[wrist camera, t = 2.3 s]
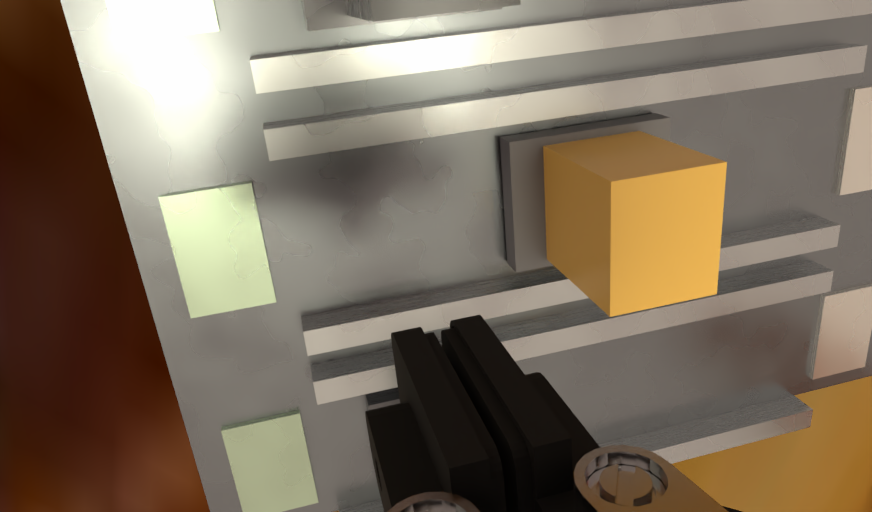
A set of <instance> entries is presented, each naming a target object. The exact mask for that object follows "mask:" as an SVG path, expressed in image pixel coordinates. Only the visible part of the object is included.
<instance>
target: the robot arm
mask: <svg viewBox="0 0 872 512" xmlns="http://www.w3.org/2000/svg"><path fill="white" fill-rule="evenodd" d="M391 342H392V349H393V357H394V364H395V371H396V378H397V385H398V392H399V399H400V403H399V404H394V405H390V406H386V407H381V408H377V409H372V410H368V411H365V416H366V423H367V429H368V435H369V441H370V447H371V453H372V459H373V464H374V469H375V474H376V479H377V484H378V488H379V493H380V497H381V501H382V505H383V509H384V512H742V511H738V510H735V509H731V508H727V507H724V506H721V505H720V504H719V503H717V502H716V501H715V500H714V499H713V498H711V497H710V496H709V495H708V494H707V493H705V492H704V491H703V490H702V489H701V488H699V487H698V486H697V485H696V484H695V483H693V482H692V481H691V480H690V479H689V478H687V477H686V476H685V475H684V474H682V473H681V472H680V471H679V470H678V469H676V468H675V467H674V466H673V465H672V464H670V463H669V462H668V461H667V460H665V459H664V458H662V457H660V456H659V455H657V454H656V453H654V452H651V451H648V450H646V449H643V448H640V447H634V446H628V445H610V446H605V447H601V448H600V446H599V445H598V444H597V443H596V441H595V440H594V439H593V437H592V436H591V435H590V434H589V432H588V431H587V430H586V429H585V427H584V426H583V425H582V423H581V422H580V421H579V420H578V418H577V417H576V416H575V415H574V413H573V412H572V411H571V410H570V408H569V407H568V406H567V404H566V403H565V402H564V401H563V399H562V398H561V397H560V396H559V394H558V393H557V392H556V391H555V389H554V388H553V387H552V385H551V384H550V383H549V382H548V380H547V379H546V378H545V377H544V376H543V375H542V374H541V373H539V372H535V373H531V374H526V375H525V374H524V373H523V371H522V370H521V369H520V367H519V366H518V365H517V363H516V362H515V361H514V359H513V358H512V357H511V355H510V354H509V352H508V351H507V350H506V348H505V347H504V346H503V344H502V343H501V342H500V340H499V339H498V338H497V336H496V335H495V334H494V332H493V331H492V329H491V328H490V327H489V325H488V324H487V323H486V321H485V320H484V319H483V317H482V316H481V315H475V316H470V317H465V318H461V319H456V320H451V322H450V329H445V330H442V331H441V342H442V346H441V344H440V343H439V341H438V339H437V337H436V335H435V334H434V332H431V333H426V334H424V332H423V330H422V328H421V327H417V328H412V329H407V330H402V331H398V332H393V333H391Z"/></svg>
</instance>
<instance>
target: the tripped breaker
mask: <svg viewBox="0 0 872 512" xmlns="http://www.w3.org/2000/svg"><path fill="white" fill-rule="evenodd" d="M670 121H671V117H667V116H664V115H661V114H657V113H653V114H647V115H640V116H634V117H627V118H620V119H614V120H607V121H601V122H594V123H588V124H581V125H575V126H568V127H561V128H555V129H548V130H542V131H535V132H529V133H522V134H516V135H509V136H503V137H500V148H501V166H502V183H503V200H504V217H505V235H506V252H507V264H508V265H509V266H510V267H511V268H512V269H513V270H514V271H515V272H516V273H518V272H523V271H528V270H533V269H538V268H544V267H549V266H555V267H556V268H557V269H558V270H559V271H560V272H561V273H562V274H563V275H565V276H566V277H567V278H568V279H569V280H570V281H571V282H572V283H573V284H574V285H576V286H577V287H578V288H579V289H580V290H581V291H582V292H583V293H584V294H585V295H586V296H588V297H589V298H590V299H591V300H592V301H593V302H594V303H595V304H596V305H597V306H598V307H600V308H601V309H602V310H603V311H604V312H605V313H606V314H607V315H608V316H609V317H612V316H617V315H622V314H626V313H631V312H636V311H641V310H645V309H650V308H655V307H659V306H664V305H669V304H673V303H678V302H683V301H687V300H692V299H697V298H701V297H706V296H711V295H715V294H717V286H718V273H719V260H720V247H721V234H722V221H723V208H724V195H725V182H726V169H727V162H726V161H723V160H720V159H717V158H715V157H712V156H709V155H706V154H703V153H701V152H698V151H695V150H692V149H689V148H686V147H684V146H681V145H678V144H675V143H672V142H670Z"/></svg>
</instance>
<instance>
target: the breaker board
mask: <svg viewBox="0 0 872 512" xmlns="http://www.w3.org/2000/svg"><path fill="white" fill-rule="evenodd" d="M61 4H62V7H63V11H64V14H65V17H66V21H67V24H68V28H69V31H70V35H71V38H72V41H73V45H74V48H75V52H76V55H77V58H78V62H79V65H80V69H81V72H82V75H83V79H84V82H85V86H86V89H87V93H88V96H89V99H90V103H91V106H92V110H93V113H94V116H95V120H96V123H97V127H98V130H99V133H100V137H101V140H102V144H103V147H104V151H105V154H106V157H107V161H108V164H109V168H110V171H111V174H112V178H113V181H114V185H115V188H116V191H117V195H118V198H119V202H120V205H121V209H122V212H123V215H124V219H125V222H126V226H127V229H128V232H129V236H130V239H131V243H132V246H133V249H134V253H135V256H136V260H137V263H138V267H139V270H140V273H141V277H142V280H143V284H144V287H145V290H146V294H147V297H148V301H149V304H150V307H151V311H152V314H153V318H154V321H155V325H156V328H157V331H158V335H159V338H160V342H161V345H162V348H163V352H164V355H165V359H166V362H167V365H168V369H169V372H170V376H171V379H172V383H173V386H174V389H175V393H176V396H177V400H178V403H179V406H180V410H181V413H182V417H183V420H184V423H185V427H186V430H187V434H188V437H189V441H190V444H191V447H192V451H193V454H194V458H195V461H196V464H197V468H198V471H199V475H200V478H201V481H202V485H203V488H204V492H205V495H206V499H207V502H208V505H209V509H210V512H333V511H337V510H339V512H384V509H383V505H382V501H381V497H380V493H379V488H378V484H377V479H376V474H375V469H374V464H373V459H372V453H371V447H370V441H369V435H368V429H367V423H366V416H365V411H368V410H372V409H377V408H381V407H386V406H390V405H394V404H399V403H400V399H399V392H398V385H397V378H396V371H395V364H394V357H393V349H392V342H391V333H393V332H398V331H402V330H407V329H412V328H417V327H421V328H422V330H423V332H424V334H426V333H431V332H434V334H435V335H436V337H437V339H438V341H439V343H440V344H441V346H442V342H441V331H442V330H445V329H450V322H451V320H456V319H461V318H465V317H470V316H475V315H481V316H482V317H483V319H484V320H485V321H486V323H487V324H488V325H489V327H490V328H491V329H492V331H493V332H494V334H495V335H496V336H497V338H498V339H499V340H500V342H501V343H502V344H503V346H504V347H505V348H506V350H507V351H508V352H509V354H510V355H511V357H512V358H513V359H514V361H515V362H516V363H517V365H518V366H519V367H520V369H521V370H522V371H523V373H524V374H525V375H526V374H531V373H535V372H539V373H541V374H542V375H543V376H544V377H545V378H546V379H547V380H548V382H549V383H550V384H551V385H552V387H553V388H554V389H555V391H556V392H557V393H558V394H559V396H560V397H561V398H562V399H563V401H564V402H565V403H566V404H567V406H568V407H569V408H570V410H571V411H572V412H573V413H574V415H575V416H576V417H577V418H578V420H579V421H580V422H581V423H582V425H583V426H584V427H585V429H586V430H587V431H588V432H589V434H590V435H591V436H592V437H593V439H594V440H595V441H596V443H597V444H598V445H599V446H600V448H601V447H605V446H610V445H628V446H634V447H640V448H643V449H646V450H648V451H651V452H654V453H656V454H657V455H659V456H660V457H662V458H664V459H665V460H667V461H668V462H669V463H670V464H672V463H675V462H679V461H683V460H687V459H691V458H694V457H698V456H702V455H706V454H710V453H713V452H717V451H721V450H725V449H728V448H732V447H736V446H740V445H744V444H747V443H751V442H755V441H759V440H763V439H766V438H770V437H774V436H778V435H781V434H785V433H789V432H793V431H797V430H800V429H804V428H808V427H810V425H811V418H812V411H813V409H811V408H810V407H809V406H807V405H806V404H805V403H803V402H802V401H801V400H799V399H798V398H796V397H795V396H794V395H797V394H801V393H805V392H809V391H813V390H817V389H821V388H825V387H829V386H832V385H836V384H840V383H844V382H848V381H852V380H856V379H860V378H864V377H868V376H872V0H61ZM653 113H657V114H661V115H664V116H667V117H671V121H670V142H672V143H675V144H678V145H681V146H684V147H686V148H689V149H692V150H695V151H698V152H701V153H703V154H706V155H709V156H712V157H715V158H717V159H720V160H723V161H726V162H727V169H726V182H725V195H724V208H723V221H722V234H721V247H720V260H719V273H718V286H717V294H715V295H711V296H706V297H701V298H697V299H692V300H687V301H683V302H678V303H673V304H669V305H664V306H659V307H655V308H650V309H645V310H641V311H636V312H631V313H626V314H622V315H617V316H612V317H609V316H608V315H607V314H606V313H605V312H604V311H603V310H602V309H601V308H600V307H598V306H597V305H596V304H595V303H594V302H593V301H592V300H591V299H590V298H589V297H588V296H586V295H585V294H584V293H583V292H582V291H581V290H580V289H579V288H578V287H577V286H576V285H574V284H573V283H572V282H571V281H570V280H569V279H568V278H567V277H566V276H565V275H563V274H562V273H561V272H560V271H559V270H558V269H557V268H556V267H555V266H549V267H544V268H538V269H533V270H528V271H523V272H518V273H516V272H515V271H514V270H513V269H512V268H511V267H510V266H509V265H508V264H507V252H506V235H505V217H504V200H503V183H502V166H501V148H500V137H503V136H509V135H516V134H522V133H529V132H535V131H542V130H548V129H555V128H561V127H568V126H575V125H581V124H588V123H594V122H601V121H607V120H614V119H620V118H627V117H634V116H640V115H647V114H653Z"/></svg>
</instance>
